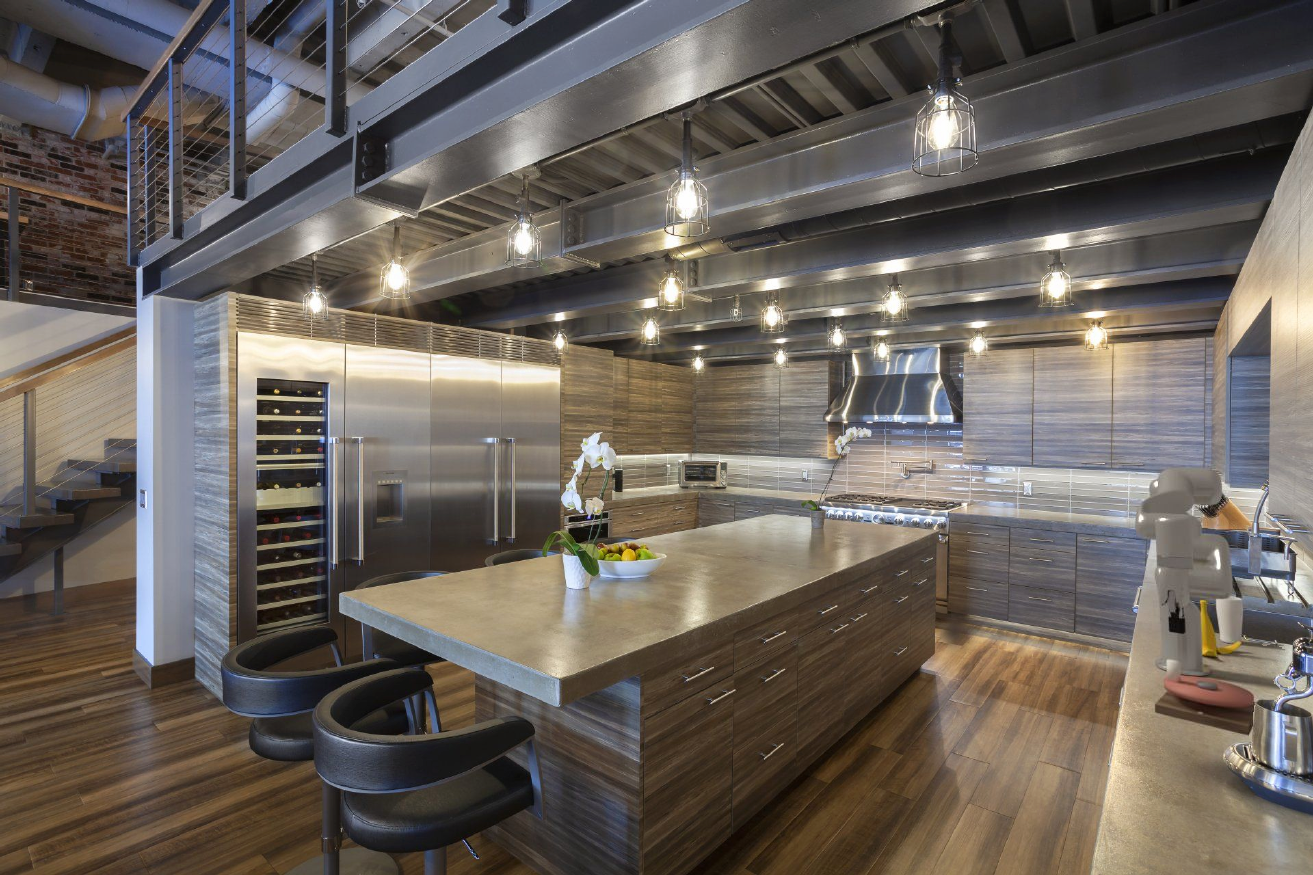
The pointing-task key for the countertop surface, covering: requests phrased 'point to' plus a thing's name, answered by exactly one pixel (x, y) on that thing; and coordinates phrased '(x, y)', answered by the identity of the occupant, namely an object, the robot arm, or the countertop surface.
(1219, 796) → the countertop surface
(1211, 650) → the banana peel
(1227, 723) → the wheel base
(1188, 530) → the robot arm
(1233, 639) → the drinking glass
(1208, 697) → the handwheel
